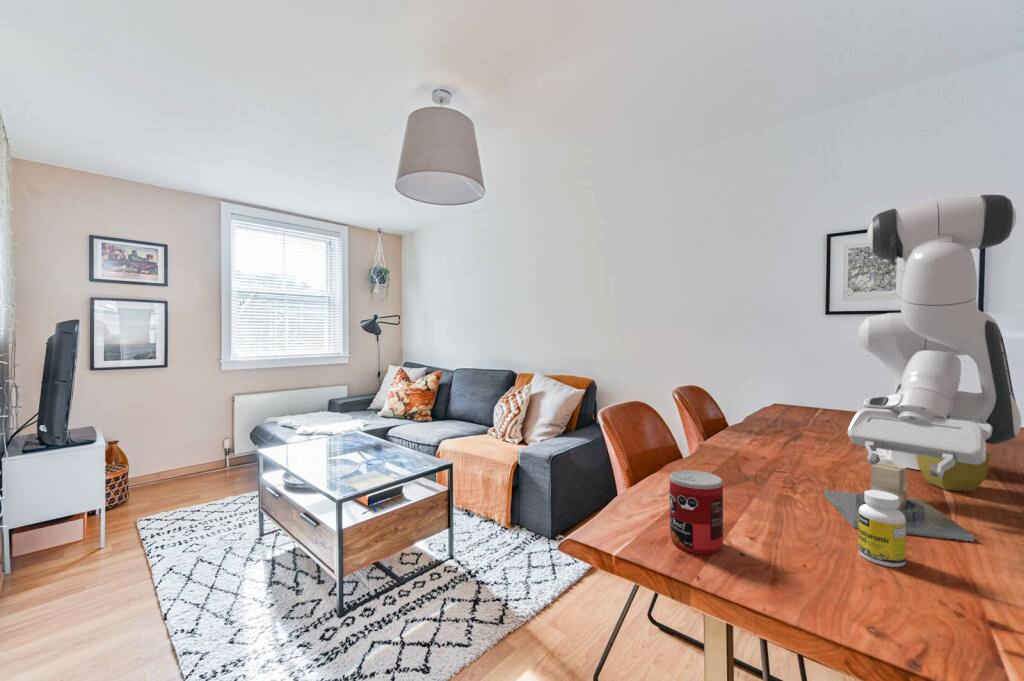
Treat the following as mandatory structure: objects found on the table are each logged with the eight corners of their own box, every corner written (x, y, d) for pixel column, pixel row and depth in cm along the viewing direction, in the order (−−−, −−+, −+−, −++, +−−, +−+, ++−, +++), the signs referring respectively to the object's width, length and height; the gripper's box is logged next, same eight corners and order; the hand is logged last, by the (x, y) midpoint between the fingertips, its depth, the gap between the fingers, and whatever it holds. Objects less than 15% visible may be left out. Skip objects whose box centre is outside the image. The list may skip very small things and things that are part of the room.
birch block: (879, 503, 83) (879, 462, 83) (906, 510, 79) (906, 467, 79) (871, 508, 81) (871, 465, 81) (898, 515, 77) (898, 471, 77)
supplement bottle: (849, 552, 67) (849, 490, 67) (875, 547, 68) (874, 486, 68) (888, 571, 62) (888, 503, 62) (915, 565, 63) (915, 498, 63)
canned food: (664, 533, 75) (663, 469, 74) (710, 533, 74) (710, 469, 74) (679, 555, 67) (679, 485, 67) (732, 555, 67) (731, 485, 66)
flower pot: (992, 496, 89) (992, 452, 89) (942, 493, 90) (942, 451, 90) (957, 482, 97) (957, 442, 97) (912, 480, 99) (912, 441, 99)
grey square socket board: (823, 495, 90) (823, 482, 90) (920, 505, 85) (920, 491, 85) (853, 527, 75) (853, 512, 75) (973, 542, 70) (973, 525, 70)
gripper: (997, 431, 81) (983, 494, 76) (864, 415, 98) (845, 465, 93) (991, 410, 78) (976, 473, 73) (855, 397, 96) (836, 448, 91)
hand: (902, 468), depth 83 cm, fingers open, 8 cm apart
